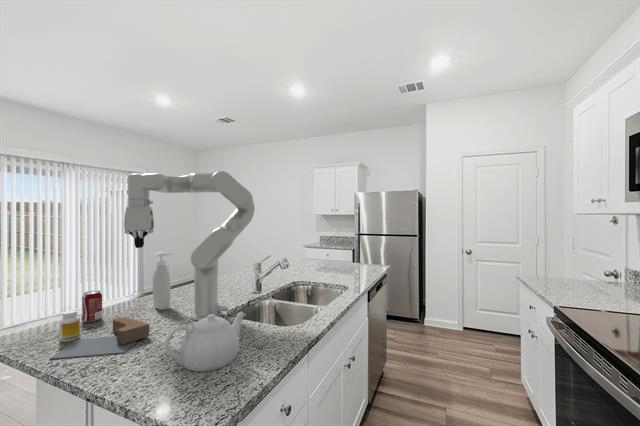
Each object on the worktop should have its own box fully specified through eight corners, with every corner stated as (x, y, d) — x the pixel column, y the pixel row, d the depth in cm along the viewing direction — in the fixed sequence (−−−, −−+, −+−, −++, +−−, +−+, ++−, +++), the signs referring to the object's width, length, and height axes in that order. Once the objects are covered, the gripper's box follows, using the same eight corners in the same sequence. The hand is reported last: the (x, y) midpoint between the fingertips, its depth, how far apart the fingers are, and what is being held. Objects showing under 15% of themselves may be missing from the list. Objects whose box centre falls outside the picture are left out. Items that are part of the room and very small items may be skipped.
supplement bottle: (82, 337, 107) (82, 310, 107) (65, 343, 102) (64, 315, 102) (74, 334, 109) (74, 308, 109) (57, 340, 104) (56, 313, 104)
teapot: (194, 345, 99) (193, 305, 99) (247, 345, 99) (247, 305, 99) (162, 376, 81) (162, 327, 81) (228, 376, 80) (227, 327, 80)
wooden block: (122, 331, 98) (98, 323, 108) (122, 345, 98) (98, 335, 107) (149, 323, 106) (125, 316, 115) (149, 336, 106) (125, 327, 115)
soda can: (106, 318, 126) (105, 290, 126) (89, 324, 119) (89, 294, 119) (95, 316, 128) (95, 289, 128) (78, 322, 122) (77, 293, 122)
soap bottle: (178, 308, 138) (177, 251, 138) (159, 313, 132) (159, 253, 132) (166, 302, 147) (165, 249, 147) (148, 306, 141) (148, 251, 141)
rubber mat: (142, 335, 108) (142, 334, 108) (124, 353, 94) (124, 352, 94) (79, 340, 104) (79, 339, 104) (49, 359, 90) (49, 358, 90)
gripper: (161, 203, 126) (161, 246, 126) (123, 203, 124) (124, 247, 124) (154, 203, 119) (155, 248, 119) (114, 203, 116) (114, 249, 116)
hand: (139, 247), depth 121 cm, fingers closed
